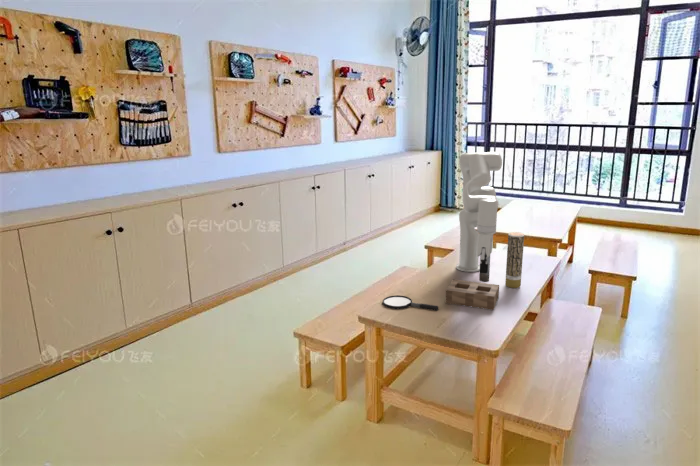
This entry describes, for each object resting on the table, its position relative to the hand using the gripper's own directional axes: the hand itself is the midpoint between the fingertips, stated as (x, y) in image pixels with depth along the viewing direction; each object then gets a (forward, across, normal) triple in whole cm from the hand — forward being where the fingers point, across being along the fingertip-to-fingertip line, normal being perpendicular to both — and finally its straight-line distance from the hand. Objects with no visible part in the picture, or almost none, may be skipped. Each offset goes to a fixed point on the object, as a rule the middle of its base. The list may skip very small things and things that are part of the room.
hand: (484, 270), depth 204 cm
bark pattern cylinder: (+14, -24, +9) cm, 30 cm away
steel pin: (+4, 0, 0) cm, 4 cm away
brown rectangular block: (+14, 0, -5) cm, 15 cm away
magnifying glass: (+15, +14, -28) cm, 35 cm away
